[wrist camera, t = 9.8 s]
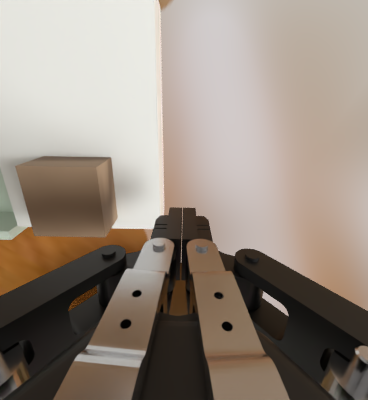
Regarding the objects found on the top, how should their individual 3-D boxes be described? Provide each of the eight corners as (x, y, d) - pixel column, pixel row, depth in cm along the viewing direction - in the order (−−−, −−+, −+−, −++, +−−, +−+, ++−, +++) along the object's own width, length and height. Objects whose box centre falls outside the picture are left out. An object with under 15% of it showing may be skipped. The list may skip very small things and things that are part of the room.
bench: (-8, 5, 16) (-58, -21, 13) (160, 8, 16) (153, -17, 13) (42, 209, 22) (18, 226, 19) (164, 211, 22) (160, 229, 19)
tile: (43, 156, 17) (15, 166, 14) (111, 157, 17) (96, 167, 14) (57, 216, 18) (34, 235, 16) (117, 217, 18) (105, 237, 16)
